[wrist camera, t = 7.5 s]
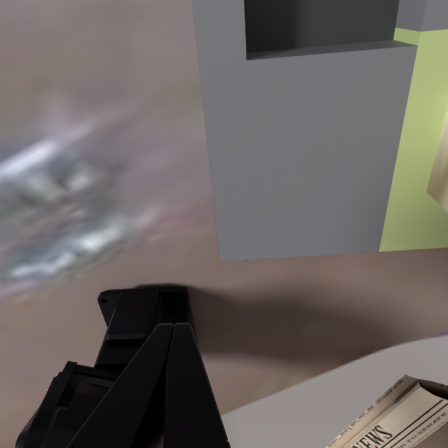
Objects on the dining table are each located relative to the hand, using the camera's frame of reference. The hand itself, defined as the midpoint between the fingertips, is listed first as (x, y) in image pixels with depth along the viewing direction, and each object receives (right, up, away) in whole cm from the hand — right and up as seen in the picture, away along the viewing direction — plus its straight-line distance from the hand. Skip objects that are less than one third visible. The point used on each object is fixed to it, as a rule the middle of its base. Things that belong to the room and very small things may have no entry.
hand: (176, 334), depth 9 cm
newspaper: (+16, -21, +29) cm, 40 cm away
